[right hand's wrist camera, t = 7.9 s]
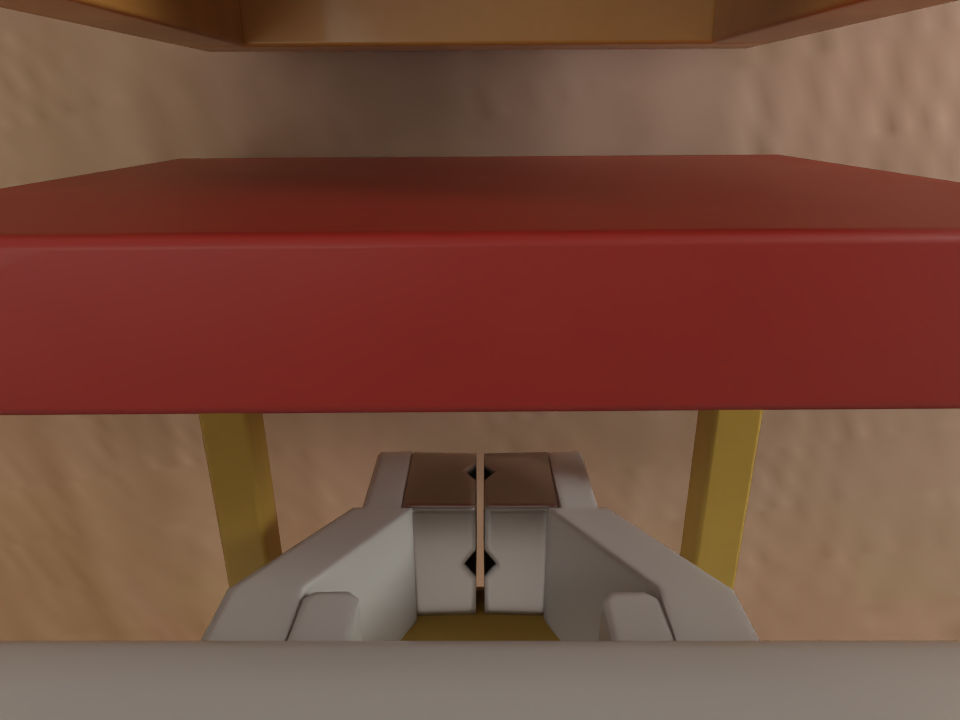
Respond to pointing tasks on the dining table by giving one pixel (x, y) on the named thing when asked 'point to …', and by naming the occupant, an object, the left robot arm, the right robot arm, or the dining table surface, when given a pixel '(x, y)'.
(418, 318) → the drawer
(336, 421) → the dining table surface
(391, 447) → the dining table surface
